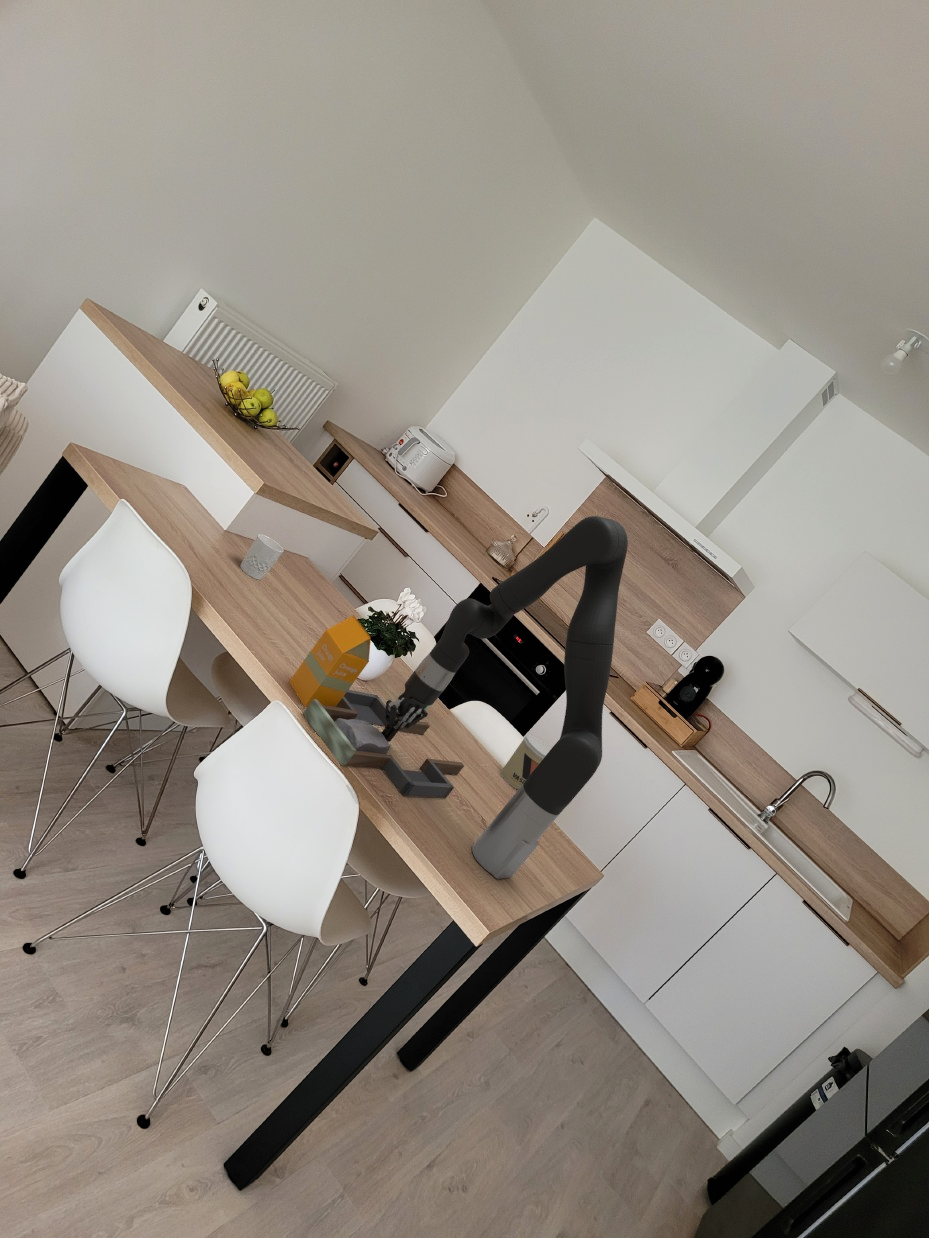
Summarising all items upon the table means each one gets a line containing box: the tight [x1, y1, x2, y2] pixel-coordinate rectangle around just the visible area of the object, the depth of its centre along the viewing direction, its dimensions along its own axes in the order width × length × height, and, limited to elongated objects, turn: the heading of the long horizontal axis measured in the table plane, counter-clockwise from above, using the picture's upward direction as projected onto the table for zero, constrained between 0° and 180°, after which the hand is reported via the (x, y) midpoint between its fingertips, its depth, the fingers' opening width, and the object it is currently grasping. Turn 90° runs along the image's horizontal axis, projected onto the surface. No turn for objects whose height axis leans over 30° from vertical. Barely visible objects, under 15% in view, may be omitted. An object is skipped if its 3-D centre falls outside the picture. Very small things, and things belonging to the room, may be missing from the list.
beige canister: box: [500, 734, 551, 791], centre depth 214 cm, size 9×9×12 cm
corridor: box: [302, 699, 465, 776], centre depth 181 cm, size 15×41×4 cm, turn 137°
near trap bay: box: [381, 757, 455, 799], centre depth 175 cm, size 8×15×3 cm, turn 137°
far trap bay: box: [336, 689, 388, 727], centre depth 188 cm, size 8×15×3 cm, turn 137°
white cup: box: [239, 533, 284, 581], centre depth 221 cm, size 8×8×10 cm
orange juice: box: [288, 614, 372, 708], centre depth 176 cm, size 8×9×20 cm
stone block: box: [335, 718, 392, 754], centre depth 175 cm, size 12×5×10 cm
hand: (384, 738), depth 180 cm, fingers closed
